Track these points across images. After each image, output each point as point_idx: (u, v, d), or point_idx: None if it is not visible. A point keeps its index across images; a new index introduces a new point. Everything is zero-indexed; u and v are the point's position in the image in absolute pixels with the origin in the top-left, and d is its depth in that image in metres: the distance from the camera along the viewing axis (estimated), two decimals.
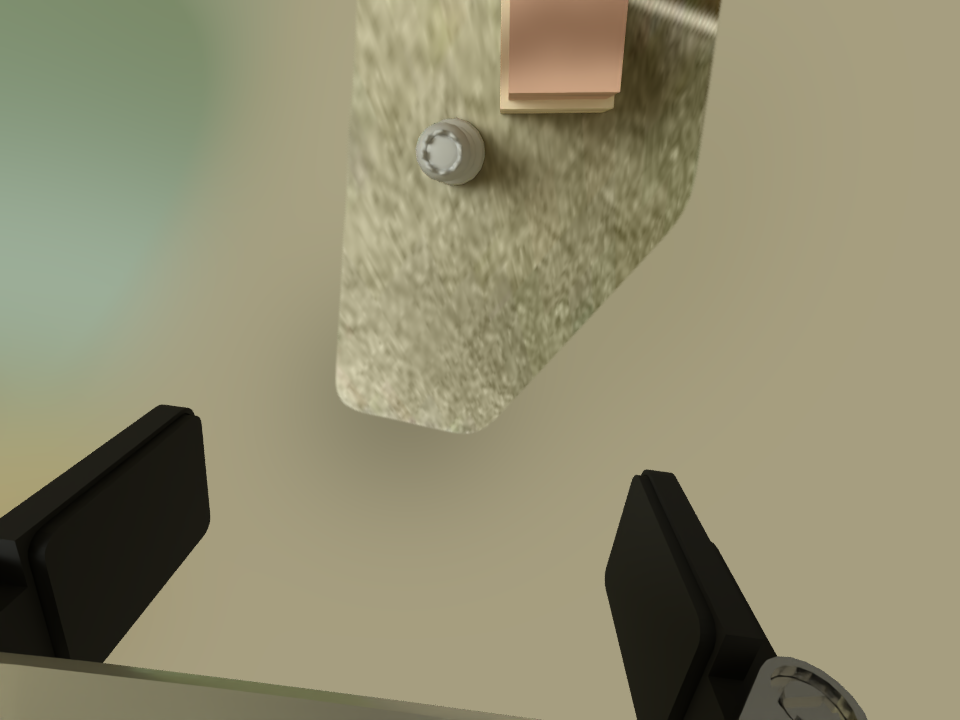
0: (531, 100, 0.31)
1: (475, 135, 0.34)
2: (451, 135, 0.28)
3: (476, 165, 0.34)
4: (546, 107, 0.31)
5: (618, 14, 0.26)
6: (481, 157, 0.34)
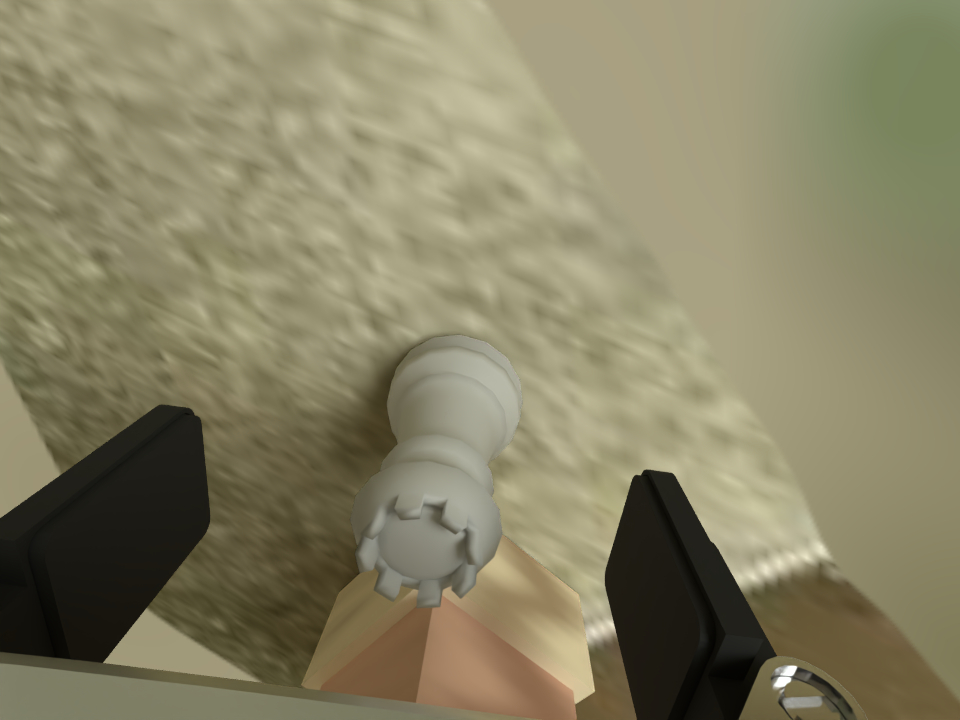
0: (404, 616, 0.15)
1: None
2: (432, 600, 0.10)
3: (396, 435, 0.16)
4: (376, 623, 0.16)
5: None
6: None
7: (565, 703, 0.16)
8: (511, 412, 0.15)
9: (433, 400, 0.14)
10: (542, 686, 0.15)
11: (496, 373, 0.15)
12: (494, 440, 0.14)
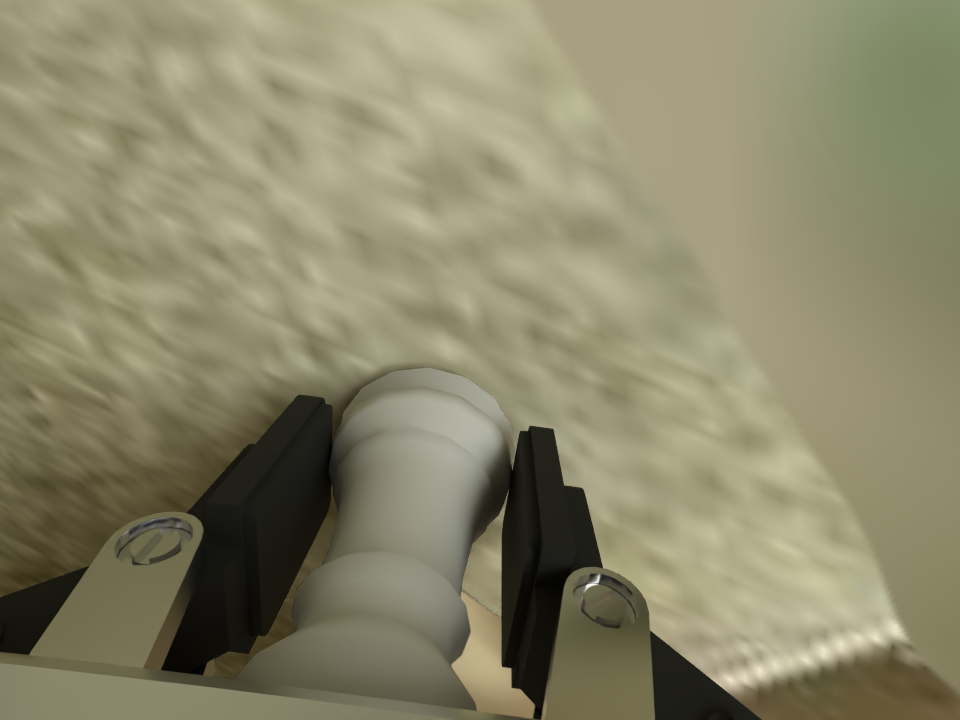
0: None
1: None
2: None
3: None
4: None
5: None
6: None
7: None
8: (499, 477, 0.11)
9: (384, 475, 0.09)
10: None
11: (478, 425, 0.11)
12: (475, 527, 0.10)
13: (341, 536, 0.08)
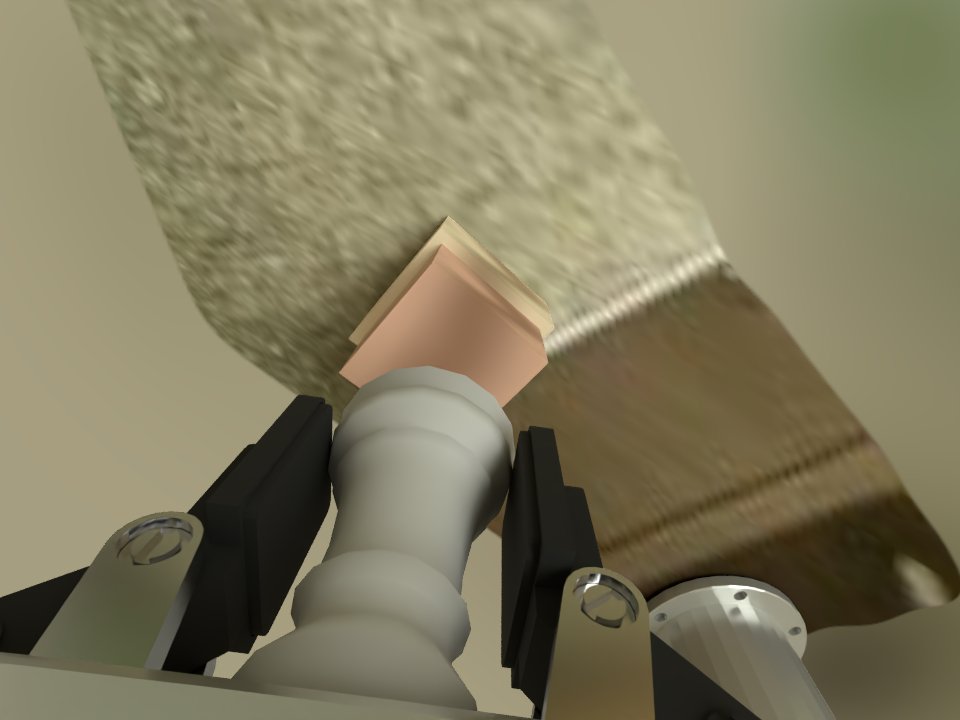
0: (421, 267, 0.22)
1: None
2: None
3: None
4: (401, 276, 0.23)
5: None
6: None
7: (533, 327, 0.23)
8: (499, 476, 0.11)
9: (384, 474, 0.09)
10: (517, 313, 0.23)
11: (478, 423, 0.11)
12: (475, 525, 0.10)
13: (341, 534, 0.08)
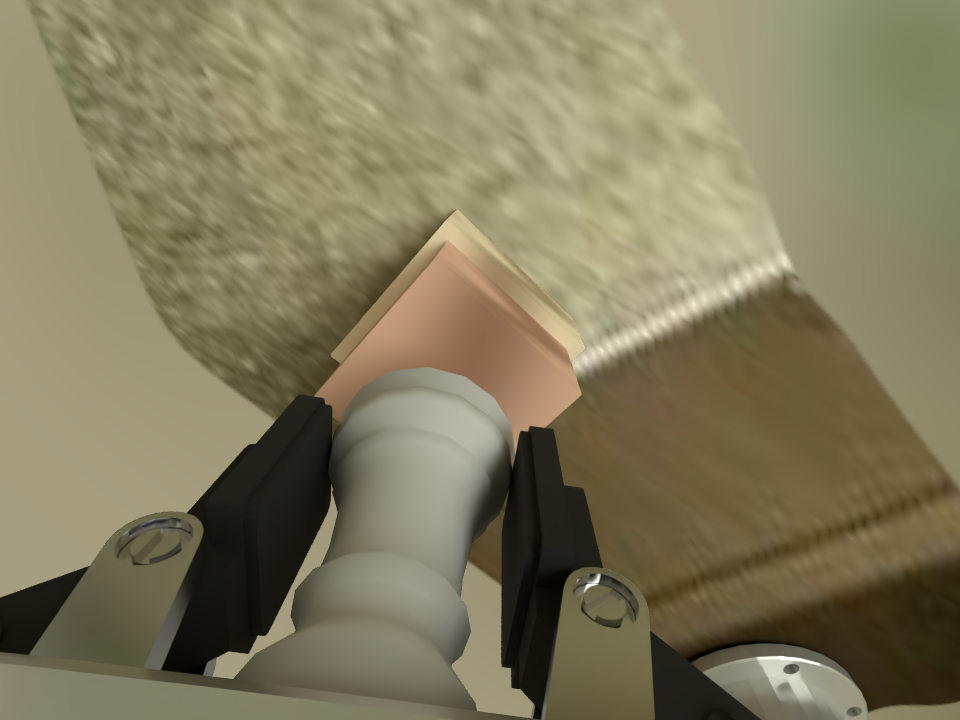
0: (421, 269, 0.18)
1: None
2: None
3: None
4: (396, 280, 0.18)
5: None
6: None
7: (559, 347, 0.18)
8: (500, 477, 0.11)
9: (384, 475, 0.09)
10: (540, 329, 0.18)
11: (478, 425, 0.11)
12: (475, 527, 0.10)
13: (341, 536, 0.08)
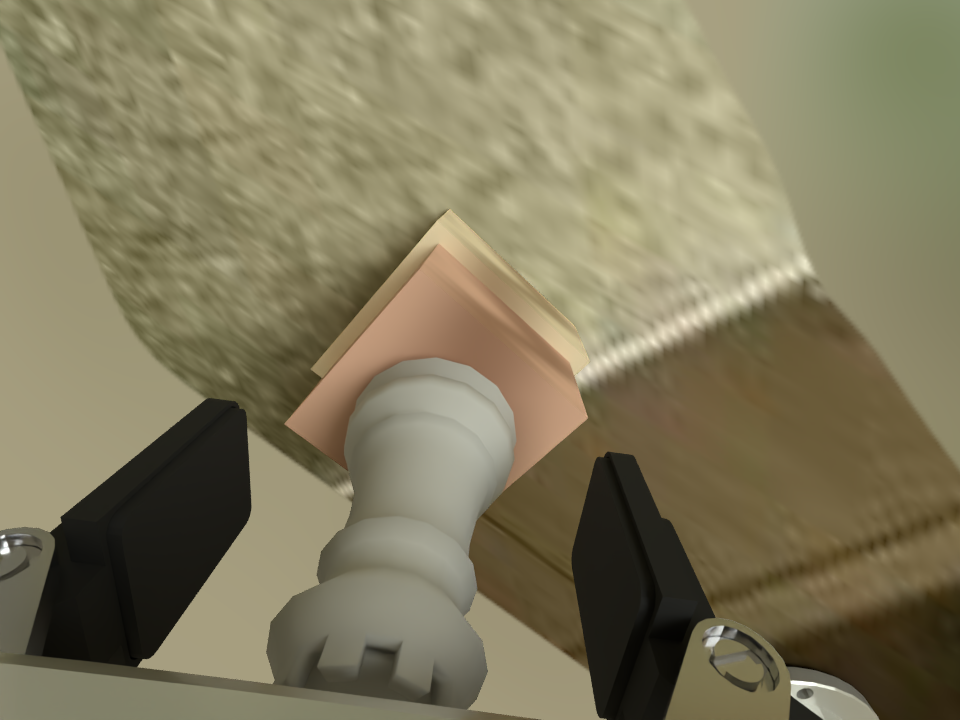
0: (409, 275, 0.16)
1: None
2: None
3: None
4: (382, 287, 0.17)
5: None
6: None
7: (562, 360, 0.17)
8: (502, 458, 0.12)
9: (397, 452, 0.10)
10: (540, 341, 0.16)
11: (482, 409, 0.12)
12: (479, 501, 0.11)
13: (360, 505, 0.09)
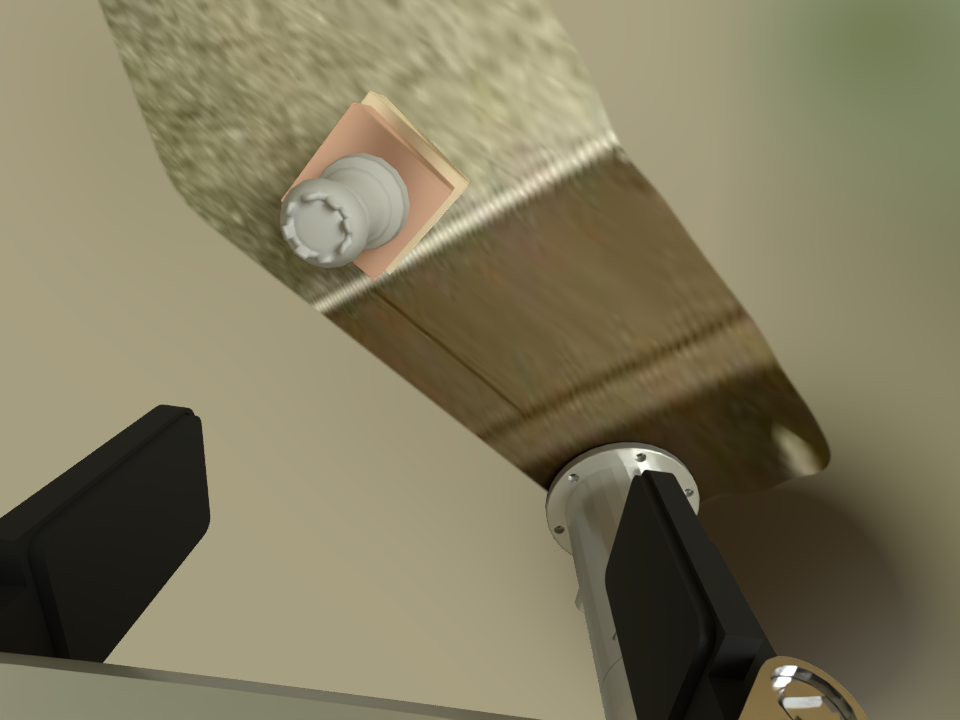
0: None
1: None
2: (326, 259, 0.18)
3: None
4: None
5: None
6: None
7: (448, 182, 0.28)
8: (396, 201, 0.23)
9: (338, 179, 0.21)
10: (434, 169, 0.27)
11: (385, 173, 0.23)
12: (380, 210, 0.22)
13: None
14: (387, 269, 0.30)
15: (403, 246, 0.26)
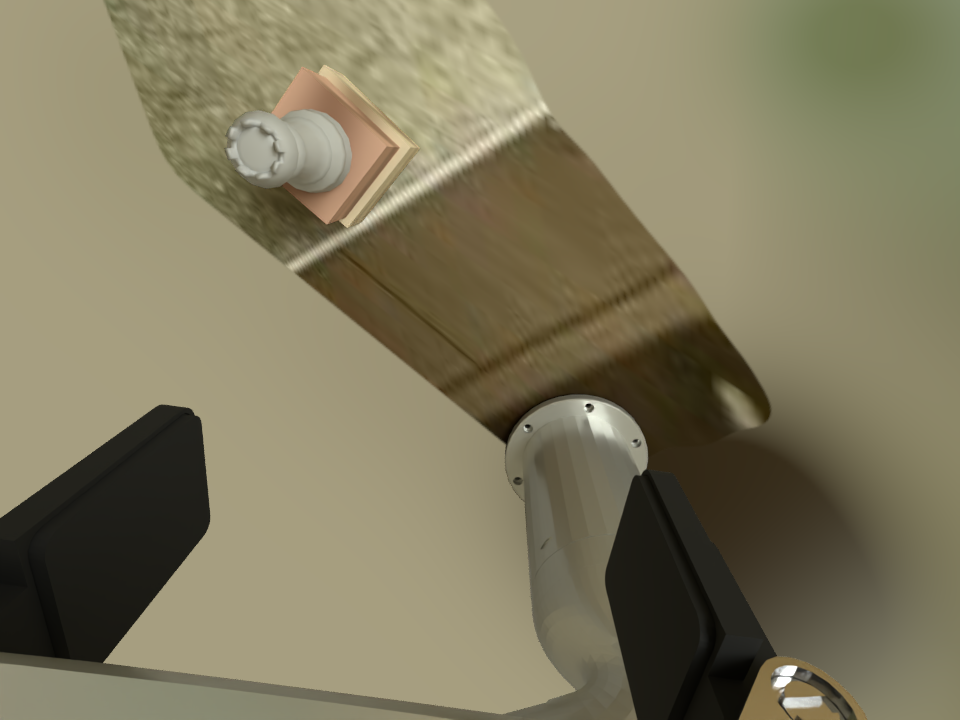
0: None
1: (303, 188, 0.28)
2: (262, 175, 0.22)
3: None
4: None
5: (297, 190, 0.30)
6: None
7: (392, 142, 0.32)
8: (337, 147, 0.27)
9: None
10: (380, 130, 0.32)
11: (326, 123, 0.27)
12: (320, 151, 0.26)
13: None
14: (345, 223, 0.34)
15: (349, 192, 0.30)
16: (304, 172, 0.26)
